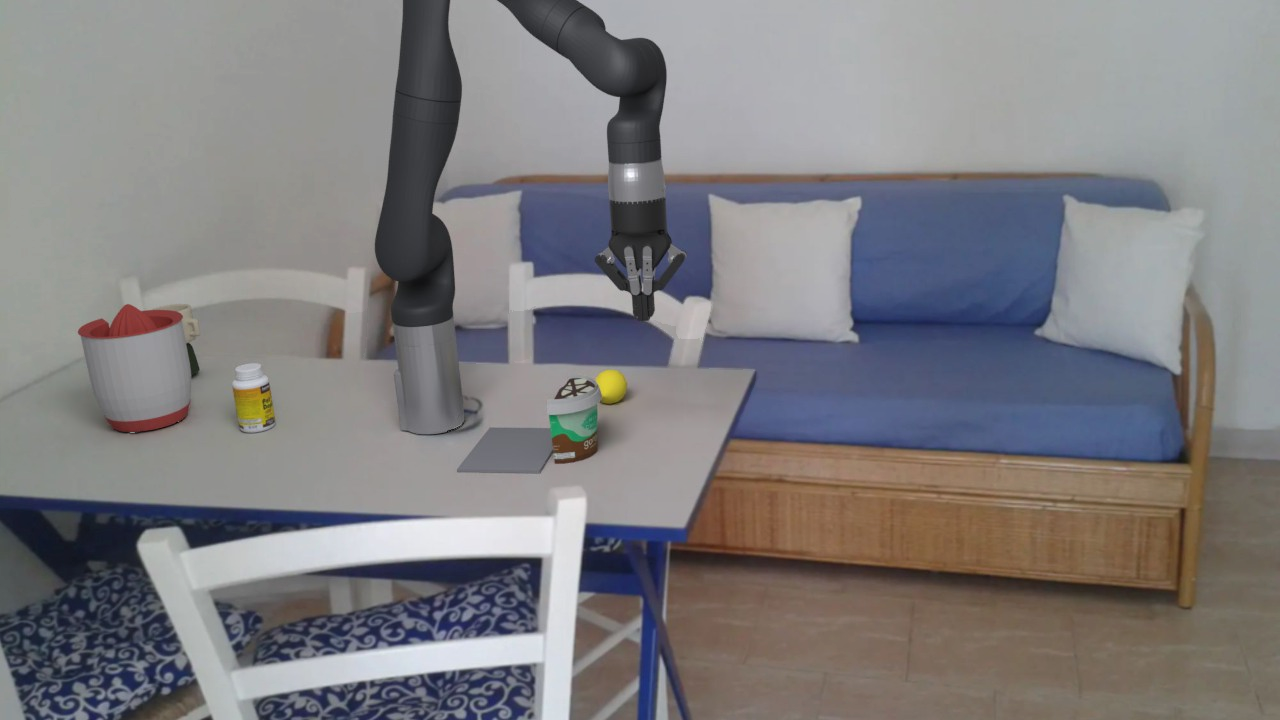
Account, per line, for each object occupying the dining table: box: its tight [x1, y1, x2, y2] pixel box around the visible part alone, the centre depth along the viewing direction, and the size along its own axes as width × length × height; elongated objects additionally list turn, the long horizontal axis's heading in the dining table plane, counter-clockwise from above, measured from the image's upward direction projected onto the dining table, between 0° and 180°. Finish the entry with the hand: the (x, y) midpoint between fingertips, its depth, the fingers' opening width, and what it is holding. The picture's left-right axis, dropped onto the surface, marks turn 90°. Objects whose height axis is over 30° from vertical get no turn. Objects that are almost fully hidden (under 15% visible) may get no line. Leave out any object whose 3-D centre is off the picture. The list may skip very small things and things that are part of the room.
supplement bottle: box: [231, 362, 276, 434], centre depth 180 cm, size 6×6×10 cm
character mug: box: [151, 303, 201, 377], centre depth 208 cm, size 11×7×13 cm, turn 74°
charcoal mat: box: [456, 426, 554, 474], centre depth 166 cm, size 12×16×1 cm
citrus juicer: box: [77, 303, 192, 433], centre depth 185 cm, size 16×17×20 cm
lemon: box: [594, 369, 628, 405], centre depth 183 cm, size 7×5×5 cm
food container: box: [546, 372, 602, 465], centre depth 163 cm, size 12×6×10 cm, turn 168°
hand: (644, 319), depth 157 cm, fingers closed
